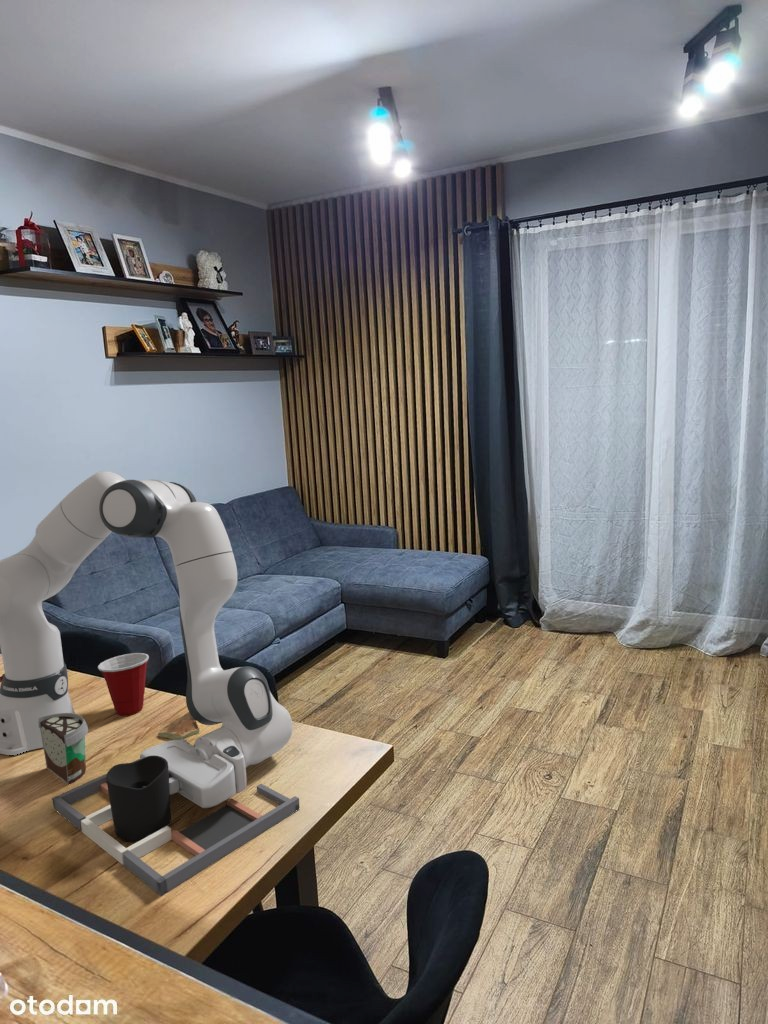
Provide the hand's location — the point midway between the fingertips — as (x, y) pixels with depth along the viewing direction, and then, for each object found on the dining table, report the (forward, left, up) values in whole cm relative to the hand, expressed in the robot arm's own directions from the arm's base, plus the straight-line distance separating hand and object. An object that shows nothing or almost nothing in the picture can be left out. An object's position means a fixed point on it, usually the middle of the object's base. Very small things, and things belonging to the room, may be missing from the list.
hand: (144, 792), depth 113 cm
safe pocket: (-2, -3, -5) cm, 7 cm away
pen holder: (0, -1, -6) cm, 6 cm away
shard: (-12, +31, -6) cm, 34 cm away
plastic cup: (-28, +38, -6) cm, 48 cm away
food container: (-24, +13, -6) cm, 28 cm away
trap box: (+2, +4, -5) cm, 8 cm away
